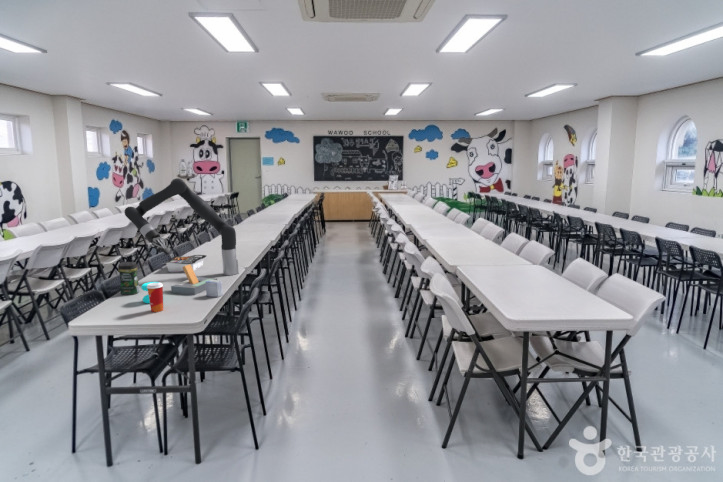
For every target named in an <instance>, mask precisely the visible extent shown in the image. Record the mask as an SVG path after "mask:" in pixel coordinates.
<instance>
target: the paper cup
mask: <svg viewBox="0 0 723 482" xmlns="http://www.w3.org/2000/svg"><path fill="white" fill-rule="evenodd" d="M156 282H157V283H150V284H148V285H147V288H148V291H147V293H148V294H149V300H150V303H149V306H150V311H151V312H152V313H159V312H162V311H164V285H163V283H162V282H159V281H156ZM158 282H159V283H158ZM148 294H147V295H148Z"/></svg>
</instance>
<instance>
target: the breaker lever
mask: <svg viewBox="0 0 723 482" xmlns="http://www.w3.org/2000/svg"><path fill="white" fill-rule="evenodd" d="M182 268H183V270H184V271H183V272H184V274H185V275H186V278H187V280H189V282H190V284H196V283H198V282H199V281H198V279H197V277H198V276H197V275H196V273H195V271H193V269H192V267H191V265H190V264H189V265H186V266H184V267H182Z"/></svg>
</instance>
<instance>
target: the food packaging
mask: <svg viewBox="0 0 723 482" xmlns="http://www.w3.org/2000/svg"><path fill="white" fill-rule="evenodd" d="M206 257H207V255H205V254H195V255H194V254H193V255H190V256H189V255H188V256H187V255H186V256H177V255H176V256H175V255H174V256H173V257H171V258H170V259H169V260H167V261H166V262H163V263H161V264H166V267H167V270H168V272H169V273H173V272H176V273H177V272H184V270H183V268H182V267H184V266H186V265H189V264H190V265H191V267H192V269H193V271H194V272H195V271H197V270H198V269H199V268H200V267H202V266H204V259H205V258H206Z"/></svg>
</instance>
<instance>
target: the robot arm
mask: <svg viewBox="0 0 723 482" xmlns="http://www.w3.org/2000/svg"><path fill="white" fill-rule="evenodd" d="M177 195H179V196H180V197H181V198H182V199H183V200H184V201H185V202H186V203H187V204H188V205H189V206H190V208H191V209H192V211H194V212H195V214H197V215H198V216H199V217H201V219H203V220H204V221H205V222H207V223H208V224H210V225H211V226H212V227H213V228H214V229H215V230H216V231H217V233H218V234H219V235H220V236H221V246H220V248H221V258H222V259H221V260H222V273H223V275H224V276H235V275H237V274H239V261H238V259H237V247H236V246H237V233H236V229H235V228H234V227H233V226H232V225H230V224H229V223H227V222H226V221H225V220H223V219H222V218H221V217H220V216H219V215H218V213H217V212H216V211H215V209H214V208H213V207H212V206H211V205H210V203H209V204H208V202H207V201H205V200H204V199H203V198H202V197H201V196H199V195H198V194H196V193H195V192H194V191H193V190H192V189H191V188H190V186H188V185H187V183H186V182H185V181H184V179H182V178H179V177H178V178H177V177H176V178H174V179H172V180H171V181H170V184H168V185H167V186H166V187H165V188H163V189H161V190H160V191H158V192H156V193H154V194H152V195H150V196H148V197H146V198H144V199H143V200H141V201H140V202H139V203H138V206H136V207H134V206H128V207H125V209H124V216H125V217H126V218H127V219H128V220H129V221H130V222H131V223H132V224H134V226H135V228H137V230H138V231H139V232H140V234H141V235H142V236H143V237H144V238H145V239H146V241H148V242H149V243H150V248H152V249H155V250H156V251H159V252H160V251H162V253H164V254H165V255H166V256H168V255H170V254H171V251H170V250H169V249H168V247H169V243H168V242H169V241H168V239H165V240H164V239H163V238H162V237H161V234H160V233H159V232H158V230H157V229H156V228H155V227H154V226H153V225H151V223H150V222H149V221H148V220H147V219H145V217H143V216H144V215H145V214H147V212H149V211H151V210H153V209H154V208H156V207H157V206H159V205H160V204H162V203H164V202H165V201H167V200H169V199H170V198H172V197H174V196H177Z"/></svg>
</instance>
